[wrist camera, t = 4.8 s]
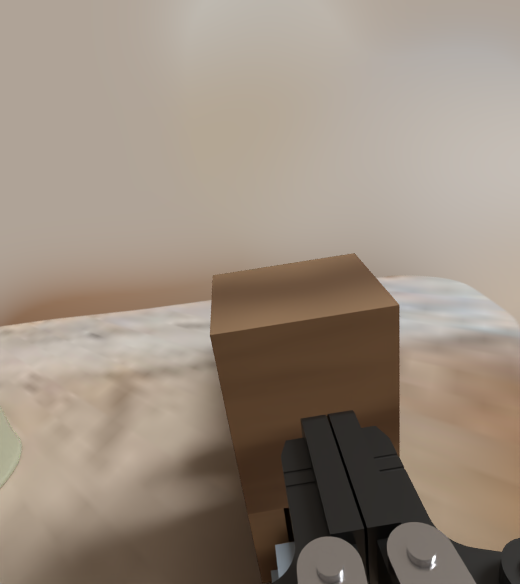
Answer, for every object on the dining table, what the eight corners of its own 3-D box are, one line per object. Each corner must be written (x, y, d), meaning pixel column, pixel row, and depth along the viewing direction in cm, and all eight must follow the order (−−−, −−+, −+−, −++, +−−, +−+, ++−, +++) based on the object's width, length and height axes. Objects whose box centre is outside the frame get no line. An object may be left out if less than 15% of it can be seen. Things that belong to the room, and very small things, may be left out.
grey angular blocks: (411, 635, 17) (412, 576, 15) (282, 657, 17) (271, 600, 15) (304, 333, 38) (300, 296, 37) (248, 342, 38) (241, 305, 37)
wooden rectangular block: (399, 559, 19) (399, 305, 14) (262, 583, 19) (210, 335, 13) (364, 469, 23) (354, 253, 18) (254, 488, 23) (212, 275, 18)
